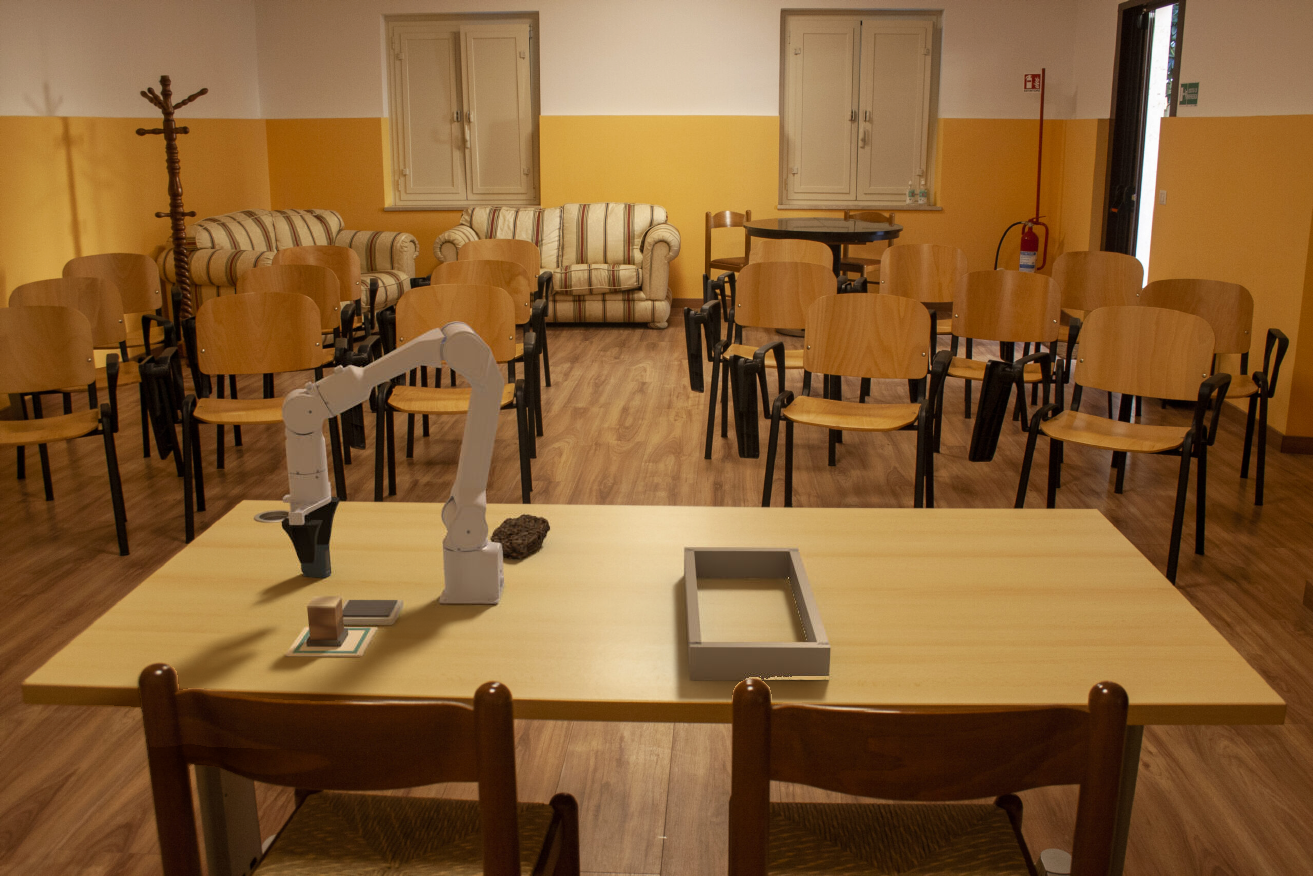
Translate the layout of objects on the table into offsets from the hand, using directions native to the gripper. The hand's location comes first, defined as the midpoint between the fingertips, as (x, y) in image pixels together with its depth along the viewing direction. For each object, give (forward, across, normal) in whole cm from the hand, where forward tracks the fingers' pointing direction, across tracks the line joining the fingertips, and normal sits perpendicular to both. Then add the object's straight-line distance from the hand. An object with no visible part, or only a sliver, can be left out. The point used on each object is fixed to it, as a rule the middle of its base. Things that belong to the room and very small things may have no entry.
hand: (315, 553), depth 170 cm
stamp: (+10, +10, +4) cm, 15 cm away
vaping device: (+10, -15, -5) cm, 19 cm away
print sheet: (+10, +10, +5) cm, 15 cm away
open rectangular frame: (+10, +3, +67) cm, 68 cm away
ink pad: (+10, +1, +8) cm, 13 cm away
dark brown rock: (+10, -28, +28) cm, 41 cm away
